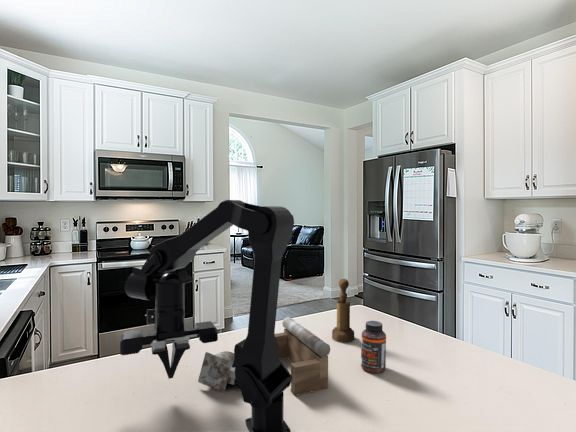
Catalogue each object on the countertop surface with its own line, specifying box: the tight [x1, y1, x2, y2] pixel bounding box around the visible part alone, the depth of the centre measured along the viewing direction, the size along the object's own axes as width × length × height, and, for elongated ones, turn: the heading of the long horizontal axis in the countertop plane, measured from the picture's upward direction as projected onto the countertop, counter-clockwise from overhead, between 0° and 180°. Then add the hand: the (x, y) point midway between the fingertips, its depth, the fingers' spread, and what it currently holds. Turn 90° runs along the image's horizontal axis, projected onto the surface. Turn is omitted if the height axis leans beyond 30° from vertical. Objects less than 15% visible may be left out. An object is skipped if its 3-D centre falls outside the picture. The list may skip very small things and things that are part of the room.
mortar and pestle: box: [331, 278, 355, 343], centre depth 107 cm, size 7×6×18 cm
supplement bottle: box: [360, 320, 387, 374], centre depth 87 cm, size 6×6×11 cm
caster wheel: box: [197, 350, 239, 393], centre depth 81 cm, size 7×11×10 cm
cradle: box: [275, 316, 331, 397], centre depth 85 cm, size 20×8×10 cm, turn 23°
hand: (170, 377), depth 74 cm, fingers closed
